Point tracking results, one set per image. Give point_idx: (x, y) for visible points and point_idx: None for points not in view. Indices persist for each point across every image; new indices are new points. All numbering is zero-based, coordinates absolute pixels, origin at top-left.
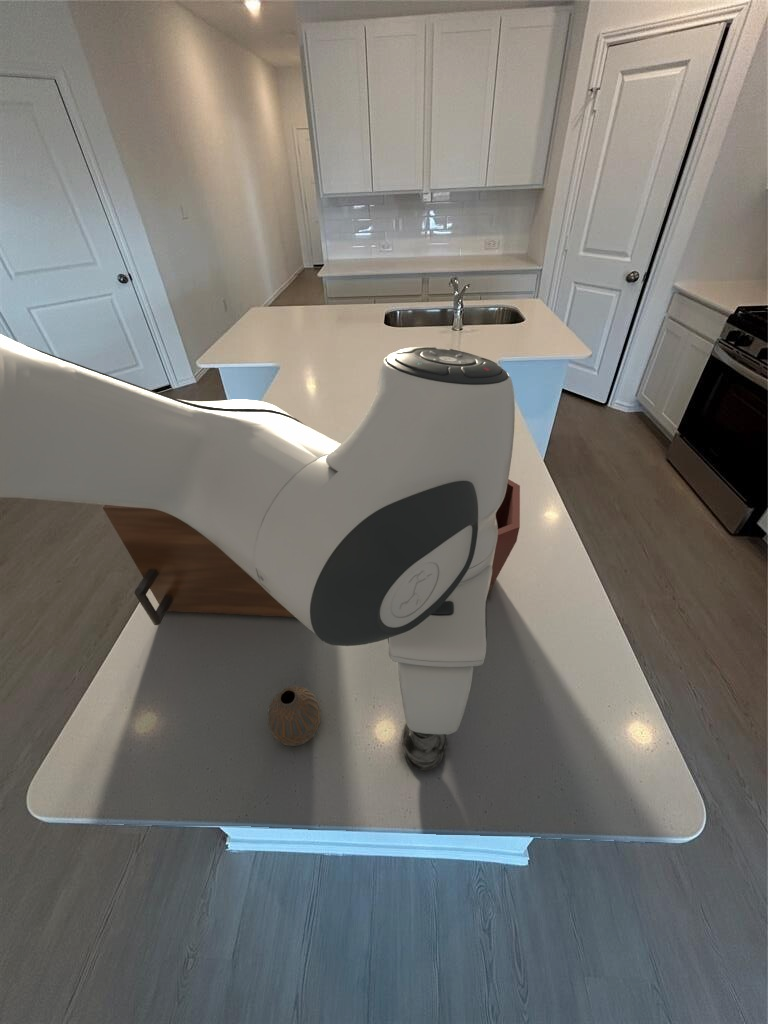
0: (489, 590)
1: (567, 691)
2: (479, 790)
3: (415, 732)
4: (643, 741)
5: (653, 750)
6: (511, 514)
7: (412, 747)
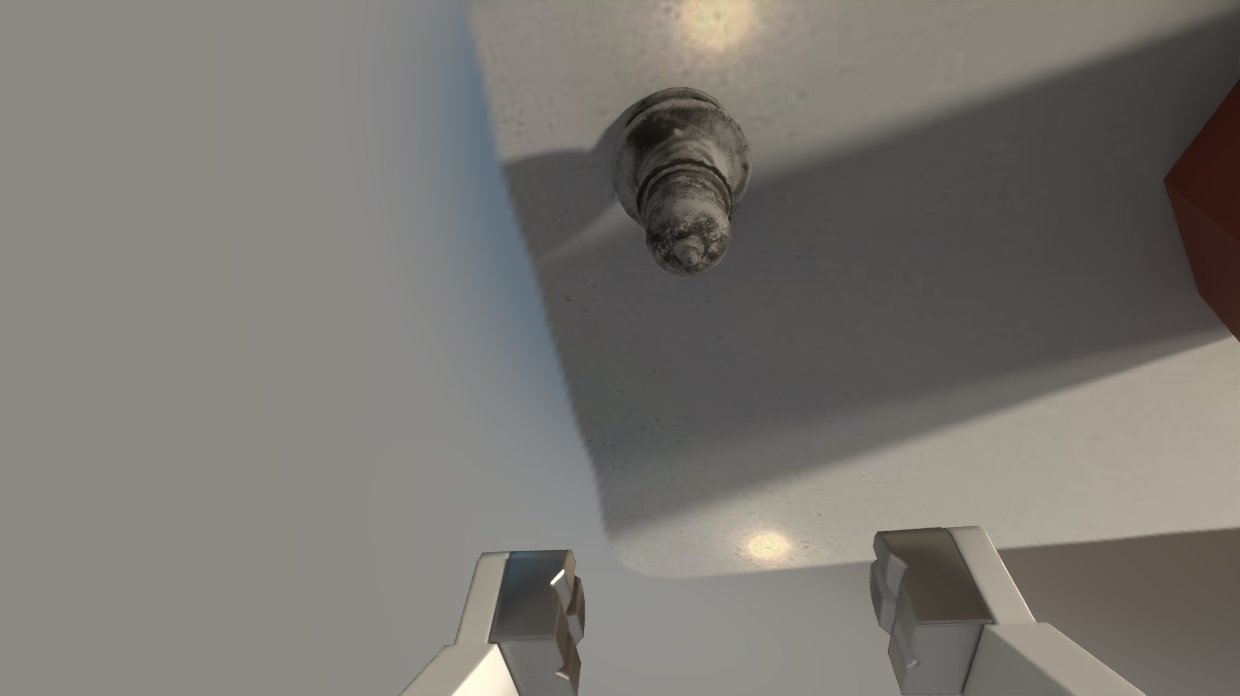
0: (1223, 322)
1: (852, 457)
2: (606, 286)
3: (650, 180)
4: (752, 547)
5: (737, 556)
6: None
7: (641, 145)
